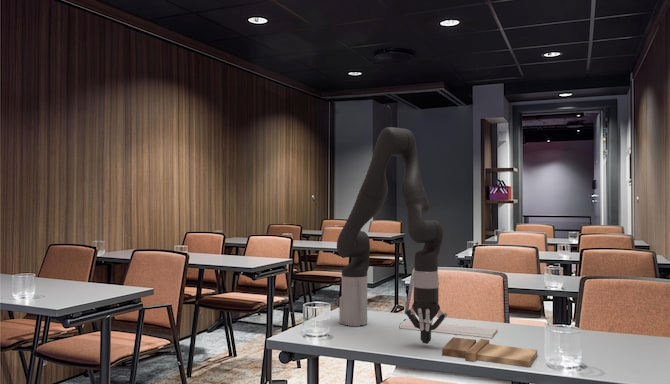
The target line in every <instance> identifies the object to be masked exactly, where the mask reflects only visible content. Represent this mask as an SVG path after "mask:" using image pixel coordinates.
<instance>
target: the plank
mask: <svg viewBox="0 0 670 384" xmlns="http://www.w3.org/2000/svg"><path fill="white" fill-rule="evenodd" d="M476 343H477V339H473V338H472V339H471V338H464V337H463V338H462V337H452V338H451V339H449V340H448V342H447V343H446V344H445V345H444V346H443V347H442V348H441V355H442V357H443V356H444V357H452V358H459V359H460V358H461V359H465V352H466V351H467V350H469V349H470V348H471V347H472V346H473V345H474V344H476Z"/></svg>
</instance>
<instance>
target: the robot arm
mask: <svg viewBox="0 0 670 384" xmlns="http://www.w3.org/2000/svg"><path fill="white" fill-rule="evenodd" d="M416 143H417V142H416V139H415V136H414V133H413V132H412V131H411V130H409V129H407V128H402V127H392V126H389V127H388V126H387V127H385V128H383V129H382V130H381V131H380V133H379V135H378V137H377V141H376V143H375V146H374V149H373V154H372V158H371V160H370V164H369V166H368V169H367V171H366V175H365V177H364V180H363V181H362V182H363V183H361V186H360V189H359V191H358V194H357V196H356V200H355V202H354V205H353V206H352V209H351V212H350V214H349V215H348V218H347V220H346V221H345V223H344V225H343V227H342V229H341V230H340V232H339V235H338V237H337V241H336V250H337V253H338V255H339V256H340V257H343V258H352V259H351V261H350V263H348V264H347V265H344V266H343V267H342V269H341V296H339V298H338V299H339V305H338V306H339V307H338V308H339V309H338V311H339V324H341V325H342V326H343V325H344V326H347V325H348V327H360V325H363V326H365V324H366V325H367V324H368V272H369V271H368V270H369V267H370V256H371V255H370V254H371V253H370V252H371V244H370V243H371V242H370V241H371V240H370V237H369V235H368V234H367V233H366V232H365V231H362V229H363V228H364V226H365V225H366V224H367V223H368V222H369V221H370V220H372V219H373V218H374V217H375V216H376V215H377V214H378V213H379V212H380V210H381V209H382V207H383V206H384V202H385V201H386V199H387V195H388V193H389V185H388V180H387V175H386V174H387V173H386V172H387V167H388V164H389V161H390V160H391V157H400V158H401V160H402V162H403V167H404V175H403V179H402V185H401V194H402V197H403V198H402V199H403V201H404V203H405V204H404V205H405V207H406V210H407V211H406V212H407V228H408V229H407V230H408V235H409V237H410V238H411V241H413V242H414V243H416V244H423V248H422V249H421V250H418V251H416V252H415V253H414V259H413V260H414V264H413V265H414V268H413V269H414V271H413V272H414V273H413V303H412V305H411V307H410V308H409V309H407V310H406V311H405V315H406V316H407V318H408V320H411V322H412V323H413V325H414V326H415V328H419V329H420V331H419V332H420V341H421V342H422V344H429V343H430V341H431V340H432V332H431V330H435V329H436V328H437V327H438V326H439V325H440V324H441V323H443V321H444V320H445V319H446V317H447V316H448V314H447V313H446V312H444V311H442V310H441V307H440V304H439V302H440V301H439V295H440V293H439V288H440V287H439V285H440V282H439V280H440V279H439V266H438V265H439V263H438V262H439V261H438V259H439V254H440V251H441V247H442V242H443V239H444V229H443V226H442V224H441V222H440V221H439V220H437V219H424V214H426V213H428V212H429V211H430V208H431V207H430V202H429V199H428V196H427V194H426V190H425V188H424V187H425V186H424V183H423V180H422V175H421V169H420V162H419V155H418V149H417V144H416ZM436 316H437V317H436ZM435 317H436V318H437V319H436V320H435V321H434V318H435ZM433 321H434V322H433ZM432 323H434V324H433V325H432Z"/></svg>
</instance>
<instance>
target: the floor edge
mask: <svg viewBox="0 0 670 384" xmlns="http://www.w3.org/2000/svg"><path fill="white" fill-rule="evenodd" d="M537 357H538V349H532V348H524V347H518V346H516V347H515V346H509V345H508V346H507V345H500V344H494V343H490V339H487V338H480V339H479V340H478V341H476V344H474V345H473V346H472V347H471V348H470V349H469V350H467V351H466V352H465V358H464V359H465V361H469V362H475V361H484V362H490V363H497V364H502V365H503V364H504V365H512V366H517V367H525V368H531V366H532V364H533V362H535V360H536V358H537Z"/></svg>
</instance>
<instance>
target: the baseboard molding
mask: <svg viewBox="0 0 670 384" xmlns="http://www.w3.org/2000/svg"><path fill="white" fill-rule="evenodd" d="M406 320H408V321H406ZM405 321H406V322H405ZM403 322H405V323H403V324H402V322H400V323H399V325H400V326H398V330H408V331H418V332H421V331H420V329H419V328H415V326H414V325H413V323H412V322H411V320H410V319H409V318H408V319H407V318H404V319H403ZM434 323H435V322H432V325H433V324H434ZM431 333H434V334H444V335H453V336H454V335H455V336H464V337H472V336H473V337H472V338H480V339H489V340H490V339H491V340H492V339H493V338H494V337H495V335H496V334H497V333H498V328H490V327H480V326H477V327H476V326H469V325H459V324H451V323H443V322H441V324H440V325H439V326H438V327H437V328H436V329H435V330H431Z"/></svg>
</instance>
